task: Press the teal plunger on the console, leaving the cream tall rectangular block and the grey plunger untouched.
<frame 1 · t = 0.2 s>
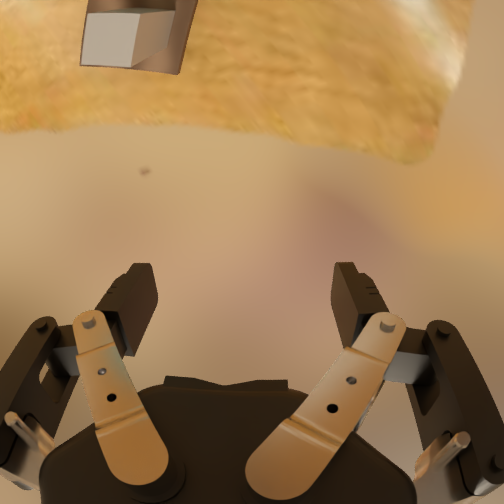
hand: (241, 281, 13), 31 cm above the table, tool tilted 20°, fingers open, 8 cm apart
grey plunger: (133, 31, 22), point 8 cm above the table, slide at 0.0 cm
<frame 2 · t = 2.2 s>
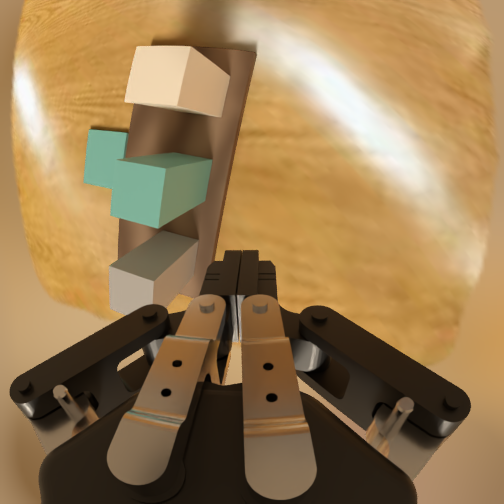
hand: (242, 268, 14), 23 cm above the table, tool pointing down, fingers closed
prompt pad: (105, 158, 37), on the table
teal plunger: (166, 183, 29), point 8 cm above the table, slide at 0.0 cm
console: (194, 174, 36), on the table
cream tall rectangular block: (184, 85, 25), point 8 cm above the table, slide at 0.0 cm
grey plunger: (157, 271, 33), point 8 cm above the table, slide at 0.0 cm
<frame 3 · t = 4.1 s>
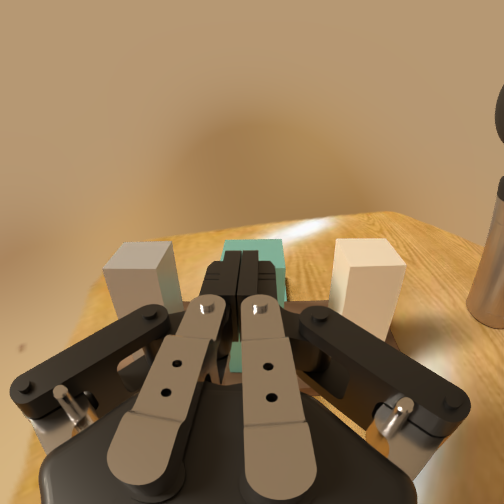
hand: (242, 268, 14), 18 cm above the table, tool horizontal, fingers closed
teal plunger: (254, 310, 28), point 8 cm above the table, slide at 0.0 cm
console: (256, 364, 31), on the table
cream tall rectangular block: (359, 307, 27), point 8 cm above the table, slide at 0.0 cm
grey plunger: (151, 308, 28), point 8 cm above the table, slide at 0.0 cm
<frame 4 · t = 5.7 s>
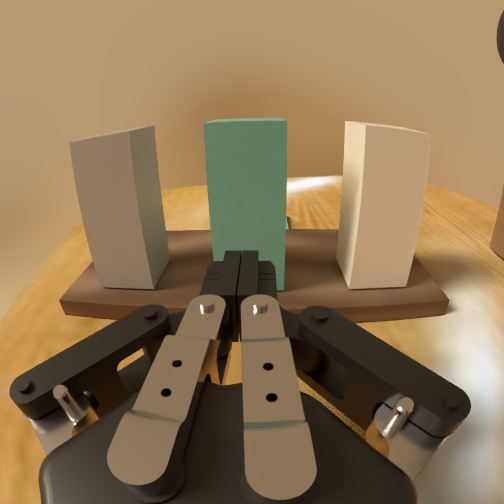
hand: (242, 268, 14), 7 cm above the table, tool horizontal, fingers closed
teal plunger: (249, 201, 22), point 8 cm above the table, slide at 0.0 cm
console: (251, 290, 25), on the table
cream tall rectangular block: (380, 203, 21), point 8 cm above the table, slide at 0.0 cm
grey plunger: (123, 206, 22), point 8 cm above the table, slide at 0.0 cm
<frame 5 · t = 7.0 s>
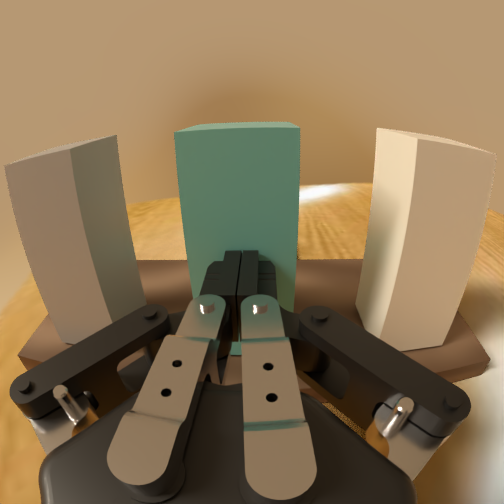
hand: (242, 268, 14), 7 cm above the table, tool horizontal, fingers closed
teal plunger: (244, 240, 16), point 8 cm above the table, slide at 0.4 cm, touching gripper
console: (248, 349, 19), on the table
cream tall rectangular block: (419, 242, 15), point 8 cm above the table, slide at 0.0 cm
grey plunger: (79, 245, 16), point 8 cm above the table, slide at 0.0 cm
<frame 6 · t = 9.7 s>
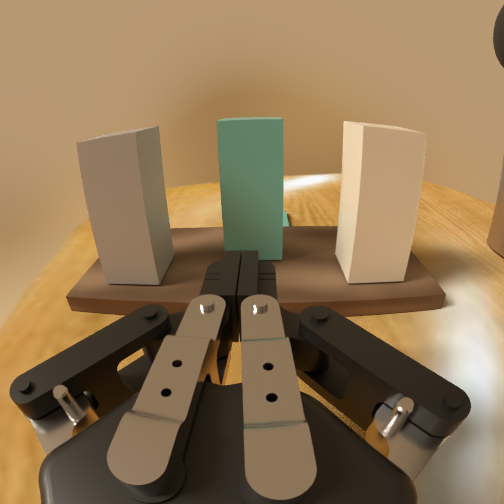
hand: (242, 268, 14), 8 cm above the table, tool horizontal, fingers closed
teal plunger: (252, 186, 26), point 8 cm above the table, slide at 4.0 cm
console: (253, 285, 26), on the table
cream tall rectangular block: (377, 200, 22), point 8 cm above the table, slide at 0.0 cm
grey plunger: (128, 205, 23), point 8 cm above the table, slide at 0.0 cm
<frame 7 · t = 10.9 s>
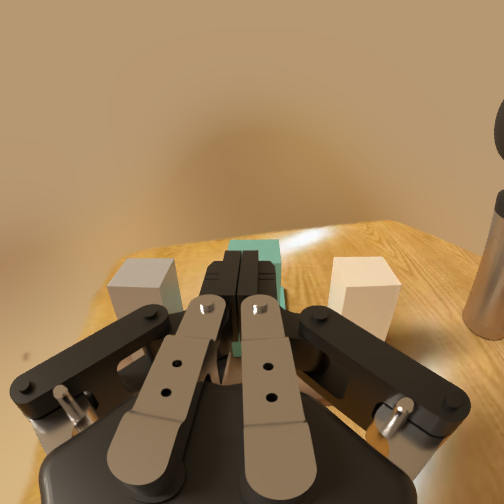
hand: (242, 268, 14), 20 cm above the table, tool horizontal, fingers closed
teal plunger: (254, 301, 32), point 8 cm above the table, slide at 4.0 cm
console: (255, 376, 32), on the table
cream tall rectangular block: (355, 322, 28), point 8 cm above the table, slide at 0.0 cm
grey plunger: (154, 322, 29), point 8 cm above the table, slide at 0.0 cm
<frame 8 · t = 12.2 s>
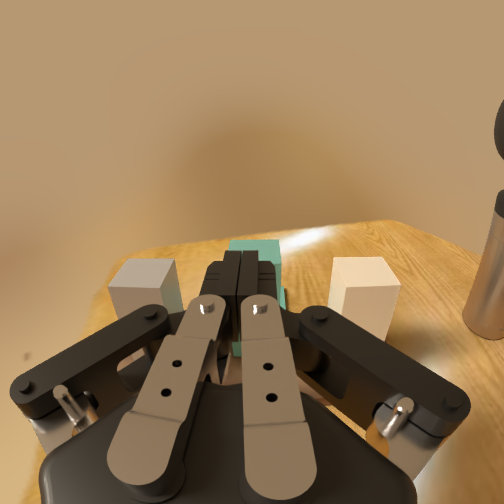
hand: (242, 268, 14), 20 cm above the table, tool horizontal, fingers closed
teal plunger: (255, 301, 32), point 8 cm above the table, slide at 4.0 cm
console: (255, 375, 32), on the table
cream tall rectangular block: (355, 322, 28), point 8 cm above the table, slide at 0.0 cm
grey plunger: (154, 322, 29), point 8 cm above the table, slide at 0.0 cm
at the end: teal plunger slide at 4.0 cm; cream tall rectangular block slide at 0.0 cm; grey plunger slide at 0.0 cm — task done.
